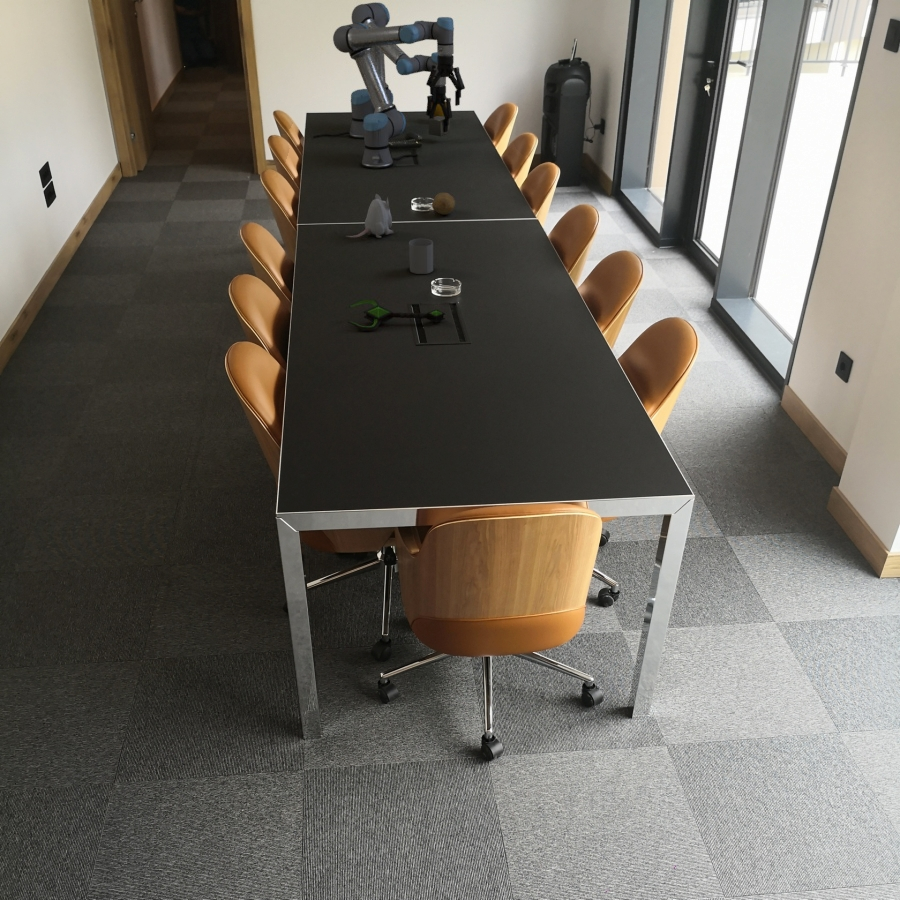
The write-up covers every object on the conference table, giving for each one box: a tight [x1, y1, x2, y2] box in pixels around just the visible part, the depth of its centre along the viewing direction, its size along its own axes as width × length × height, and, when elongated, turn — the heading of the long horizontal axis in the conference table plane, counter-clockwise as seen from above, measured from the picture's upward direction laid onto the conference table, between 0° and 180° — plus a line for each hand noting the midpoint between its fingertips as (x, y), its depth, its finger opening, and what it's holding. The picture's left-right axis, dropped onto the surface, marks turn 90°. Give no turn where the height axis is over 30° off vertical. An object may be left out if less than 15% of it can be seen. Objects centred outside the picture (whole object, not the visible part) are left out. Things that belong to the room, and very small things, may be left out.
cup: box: [408, 237, 434, 275], centre depth 305 cm, size 8×8×10 cm
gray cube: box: [428, 116, 451, 137], centre depth 462 cm, size 8×8×8 cm
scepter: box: [348, 298, 446, 331], centre depth 269 cm, size 6×13×30 cm
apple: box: [431, 101, 447, 117], centre depth 502 cm, size 11×11×13 cm
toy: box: [345, 193, 394, 239], centre depth 333 cm, size 9×24×15 cm, turn 137°
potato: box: [431, 192, 456, 216], centre depth 360 cm, size 10×14×8 cm
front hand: (445, 103), depth 410 cm, fingers open, 13 cm apart
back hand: (439, 130), depth 464 cm, fingers closed on gray cube, 8 cm apart
